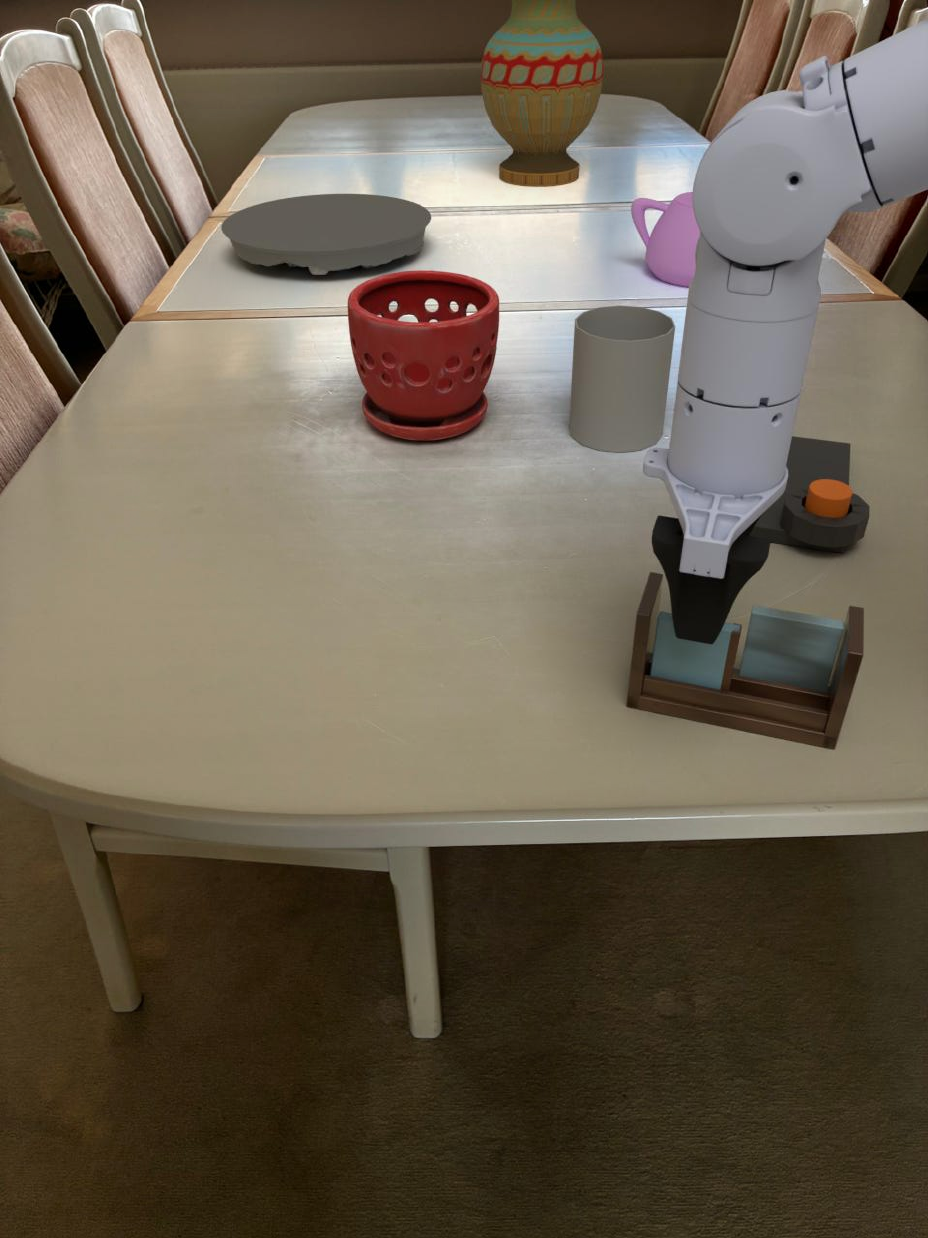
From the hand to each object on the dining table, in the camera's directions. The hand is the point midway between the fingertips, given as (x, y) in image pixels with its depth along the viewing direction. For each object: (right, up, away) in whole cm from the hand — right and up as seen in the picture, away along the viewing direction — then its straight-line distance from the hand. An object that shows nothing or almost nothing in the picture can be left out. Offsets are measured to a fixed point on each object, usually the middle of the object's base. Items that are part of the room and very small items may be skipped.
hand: (701, 612), depth 54 cm
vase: (0, +75, +111) cm, 134 cm away
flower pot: (-17, +18, +36) cm, 43 cm away
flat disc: (-32, +49, +78) cm, 97 cm away
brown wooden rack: (+3, -5, +4) cm, 7 cm away
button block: (+12, +10, +24) cm, 29 cm away
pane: (0, -4, +3) cm, 6 cm away
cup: (0, +17, +34) cm, 37 cm away
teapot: (+17, +43, +68) cm, 83 cm away
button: (+13, +8, +17) cm, 23 cm away
